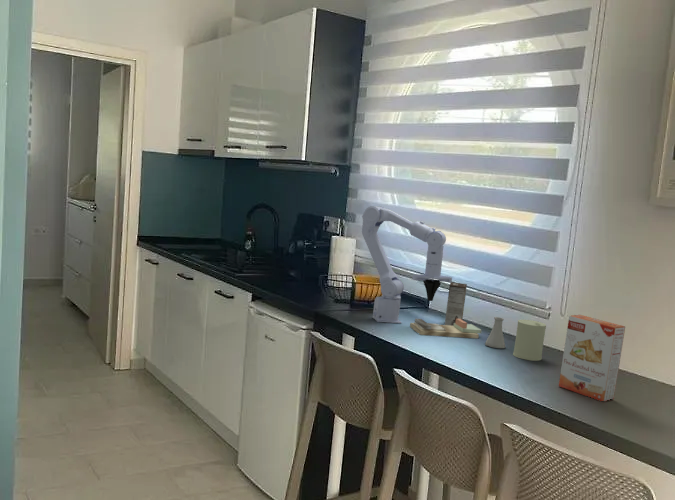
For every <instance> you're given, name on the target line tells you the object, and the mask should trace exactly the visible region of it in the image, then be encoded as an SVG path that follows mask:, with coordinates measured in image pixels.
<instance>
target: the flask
mask: <svg viewBox="0 0 675 500" xmlns="http://www.w3.org/2000/svg"><path fill="white" fill-rule="evenodd" d="M503 321H504V318H503V317H499V316H495V317H494V323H493V327H492V329H491V331H490V333H489V335H488V337H487V339H486V341H485V343H484V345H485V346H487V347H490V348H494V349H500V350H501V349H505V348H506V343H505V337H504V332H503Z"/></svg>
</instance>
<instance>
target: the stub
mask: <svg viewBox="0 0 675 500" xmlns="http://www.w3.org/2000/svg"><path fill="white" fill-rule="evenodd" d="M454 327H455V328H457V329H458V330H460V331H461V332H468V333H477V334H482V329H481V328H479V327H477V326H475V325H474V324H471V323H468V322H466V321H465V320H463V319H462V320H461V319H456V323H454Z"/></svg>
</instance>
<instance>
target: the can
mask: <svg viewBox="0 0 675 500" xmlns="http://www.w3.org/2000/svg"><path fill="white" fill-rule="evenodd" d="M546 328H547V324H546V323H544V322H541V321H536V320H532V319H518V320H517V327H516V335H515V342H514V348H513V353H512V355H513V356H514V357H515V358H519V359H521V360H525V361H534V362H536V361H537V362H538V361H542V355H543V348H544V341H545V336H546V335H545V334H546Z"/></svg>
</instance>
